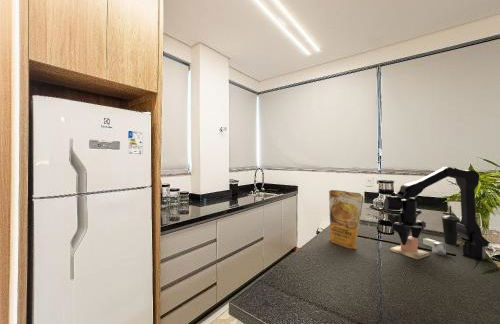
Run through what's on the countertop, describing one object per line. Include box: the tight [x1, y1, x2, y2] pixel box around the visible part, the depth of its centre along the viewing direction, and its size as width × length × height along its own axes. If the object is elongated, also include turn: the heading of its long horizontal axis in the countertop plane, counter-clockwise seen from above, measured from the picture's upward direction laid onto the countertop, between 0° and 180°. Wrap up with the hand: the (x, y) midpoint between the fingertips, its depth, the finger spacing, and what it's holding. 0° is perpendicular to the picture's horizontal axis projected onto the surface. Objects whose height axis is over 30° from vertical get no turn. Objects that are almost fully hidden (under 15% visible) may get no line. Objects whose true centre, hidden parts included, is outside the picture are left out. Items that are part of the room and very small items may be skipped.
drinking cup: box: [441, 205, 461, 245], centre depth 125 cm, size 8×8×20 cm
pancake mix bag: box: [328, 189, 364, 250], centre depth 123 cm, size 7×19×28 cm, turn 31°
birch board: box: [389, 244, 430, 260], centre depth 111 cm, size 12×10×1 cm
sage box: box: [422, 237, 436, 248], centre depth 121 cm, size 6×3×3 cm, turn 12°
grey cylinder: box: [431, 240, 447, 256], centre depth 111 cm, size 5×5×5 cm
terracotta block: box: [400, 235, 419, 253], centre depth 111 cm, size 5×5×6 cm
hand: (409, 243), depth 111 cm, fingers open, 9 cm apart
